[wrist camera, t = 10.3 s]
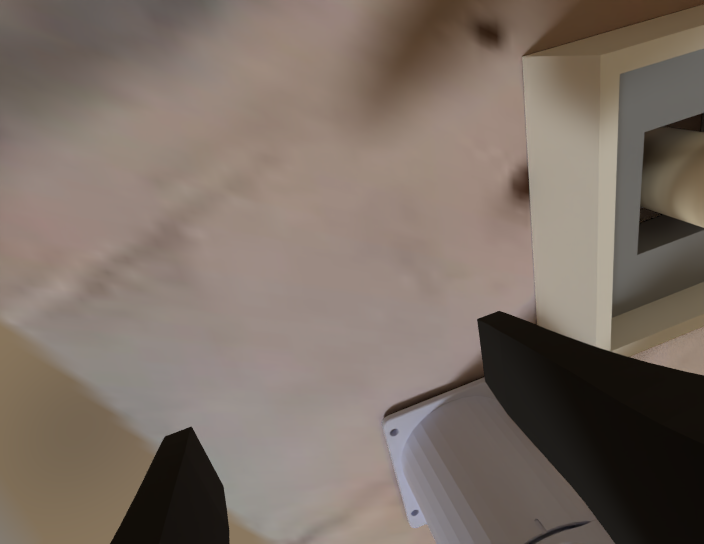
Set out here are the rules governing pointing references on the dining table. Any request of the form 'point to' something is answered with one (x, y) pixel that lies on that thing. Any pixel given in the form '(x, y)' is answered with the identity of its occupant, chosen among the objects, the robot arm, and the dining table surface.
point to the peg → (674, 174)
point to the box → (612, 184)
